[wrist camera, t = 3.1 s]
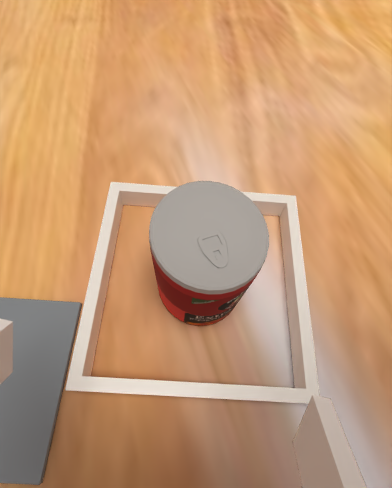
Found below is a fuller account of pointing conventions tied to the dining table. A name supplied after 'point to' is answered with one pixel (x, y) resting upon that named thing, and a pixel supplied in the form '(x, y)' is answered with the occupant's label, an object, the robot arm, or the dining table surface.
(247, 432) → the dining table surface
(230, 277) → the canned food
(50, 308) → the mat
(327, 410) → the robot arm
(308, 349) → the corral
